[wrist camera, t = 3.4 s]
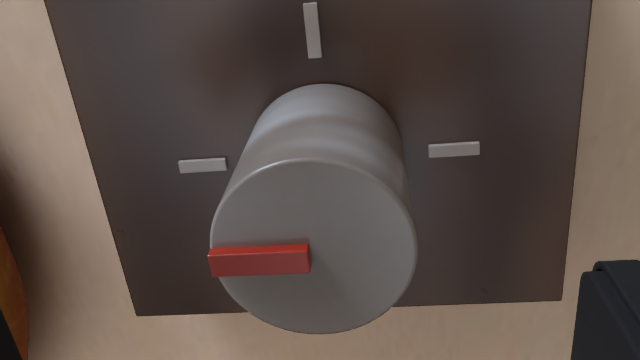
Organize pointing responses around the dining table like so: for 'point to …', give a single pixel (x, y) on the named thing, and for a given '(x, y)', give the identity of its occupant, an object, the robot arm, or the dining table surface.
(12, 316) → the bread
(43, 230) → the dining table surface
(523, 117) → the dial panel
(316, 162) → the knob
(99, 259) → the dining table surface
